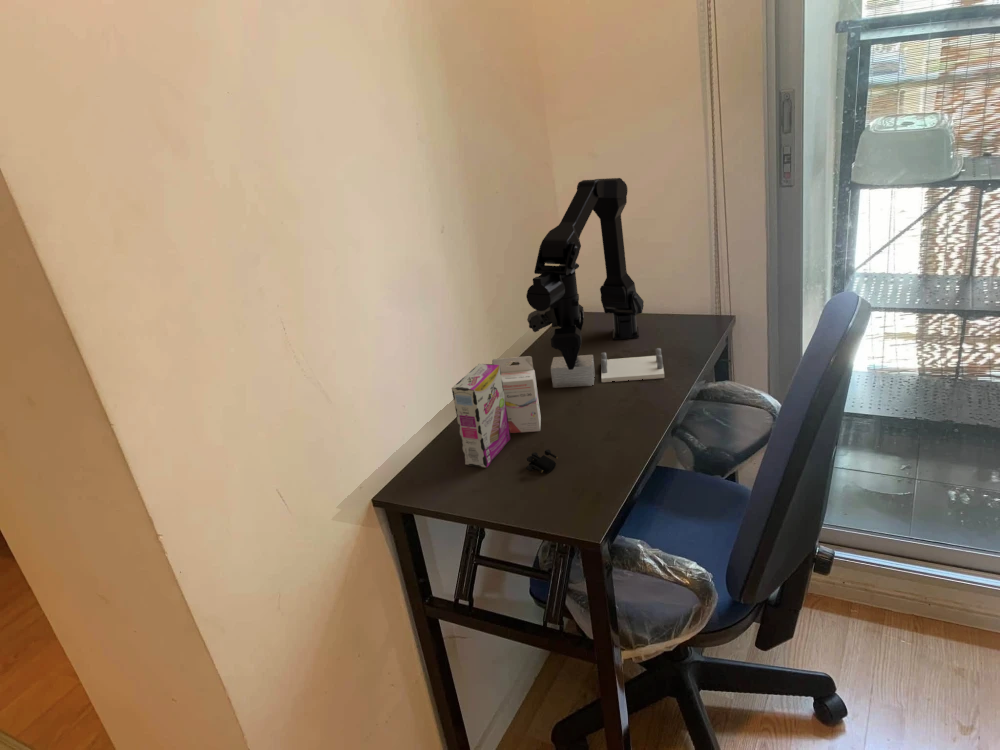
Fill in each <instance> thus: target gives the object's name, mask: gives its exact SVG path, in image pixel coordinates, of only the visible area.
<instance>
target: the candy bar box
mask: <svg viewBox="0 0 1000 750" xmlns="http://www.w3.org/2000/svg"><path fill="white" fill-rule="evenodd" d="M451 392H452V397H453V398H452V399H453V405H454V409H455V413H456V414H455V416H456V421H457V424H458V430H459V437H460V441H461V448H462V453H463V458H464V464H465V465H466V466H470V467H477V468H485V469H487V468H488V467H489V466H490V465H491V463H492V462H493V461H494V460H495V458H496V457H498V455H499V453H500V452H501V451H502V450H503V449H504V448H505V447H506V445H507V444H508V443H509V442H510V440H511V433H510V430H509V423H508V417H507V410H506V404H505V396H504V389H503V382H502V376H501V369H500V365H494V364H492V363H478V364H477V365H475V367H473V368H472V369H471V370H470V371H469V372H468V373H467V374H465V376H464V377H462V378H461V379H460V380H459V381H458V382H457V383H456V384H454V385H453V386H452V387H451Z"/></svg>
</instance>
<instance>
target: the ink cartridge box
mask: <svg viewBox="0 0 1000 750" xmlns="http://www.w3.org/2000/svg"><path fill="white" fill-rule="evenodd" d="M511 362H513V363H519V364H514V365H512V364H511V365H507V364H510V363H511ZM491 364H494V365H500V369H501V376H502V382H503V389H504V396H505V404H506V410H507V417H508V423H509V430H510V434H516V433H533V432H541V426H542V425H541V424H542V423H541V422H542V420H541V419H542V417H541V410H540V408H541V407H540V403H539V394H538V387H537V378H536V371H535V369H534V364H533V357H532V356H530V355H528V356H527V355H526V356H515V357H502V358H493V359H491Z"/></svg>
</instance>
